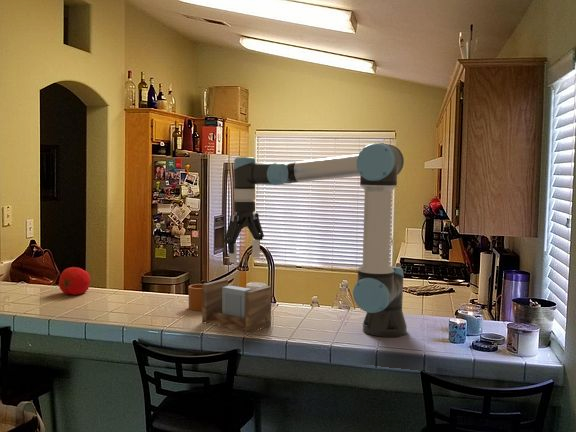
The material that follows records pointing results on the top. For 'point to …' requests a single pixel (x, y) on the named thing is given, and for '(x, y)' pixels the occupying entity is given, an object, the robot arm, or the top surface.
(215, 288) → the wooden frame
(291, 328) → the top surface
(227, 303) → the gray rectangular block
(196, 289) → the mug
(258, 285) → the white cup
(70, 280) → the tomato
